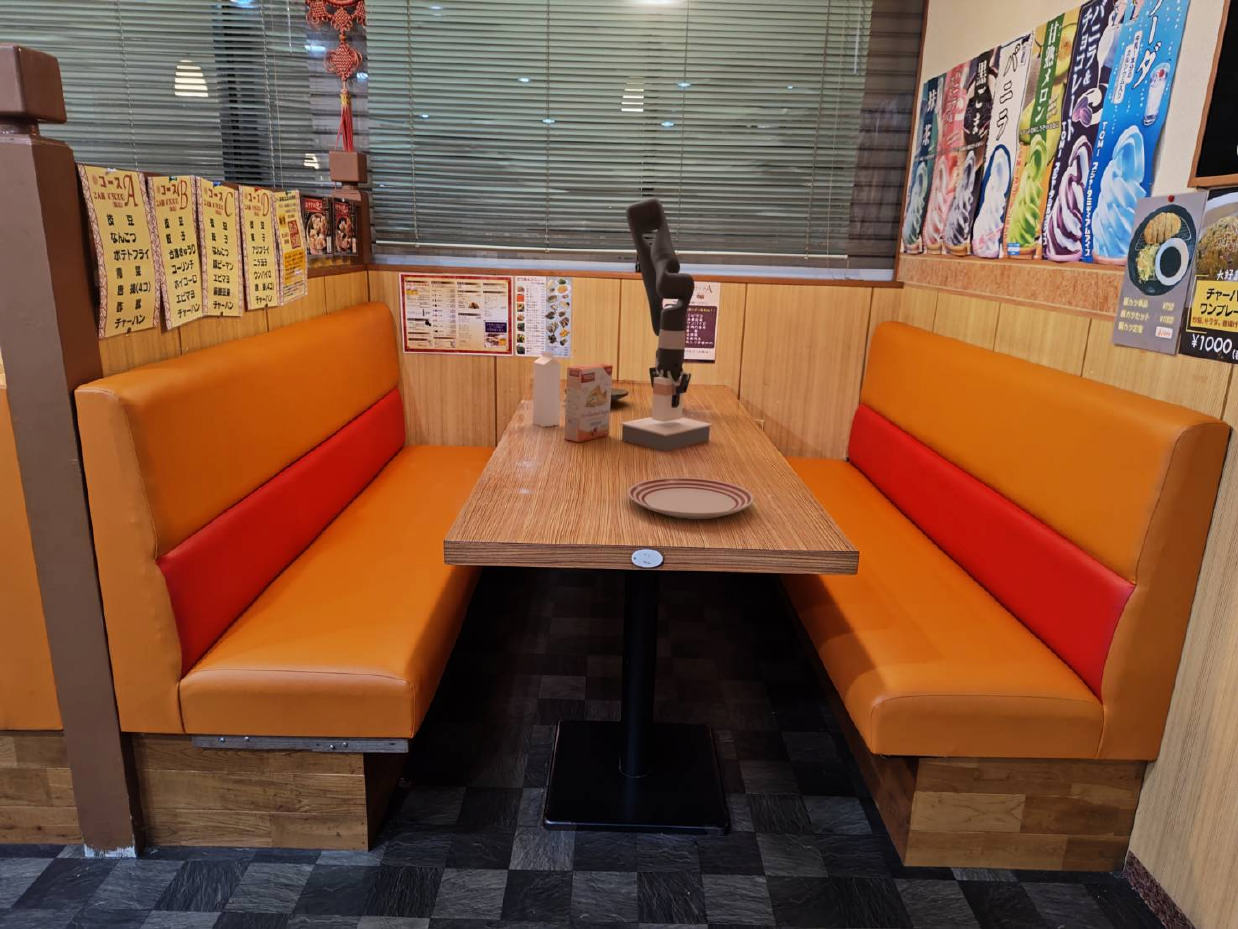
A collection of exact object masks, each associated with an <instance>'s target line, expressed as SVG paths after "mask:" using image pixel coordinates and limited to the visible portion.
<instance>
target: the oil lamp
mask: <svg viewBox="0 0 1238 929" xmlns="http://www.w3.org/2000/svg"><path fill="white" fill-rule="evenodd" d="M629 393H630V392H629V390H626V389H622V388H613V387H611V403H613V402H617V401H618V400H621V399H622V398H624V397H628V395H629ZM564 394H565V395H566V388H565V389H564Z"/></svg>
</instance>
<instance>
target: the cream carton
mask: <svg viewBox="0 0 1238 929" xmlns="http://www.w3.org/2000/svg"><path fill="white" fill-rule="evenodd" d="M680 381H681V377H680ZM671 383H672V379H669V378H665V377H655V378H654V383H653V388H652V408H651V409H652V410H651V417H652V419H653V420H657V421H661V422H667V421H672V420H677V419H682V417H683V403H684V393H682V394H680V400H679V401H680V402H679V406H678V407H676V408H672V395H673V392H672V384H671ZM674 383H678V381H676V382H674ZM676 390H677V386H676Z"/></svg>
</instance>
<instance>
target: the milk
mask: <svg viewBox="0 0 1238 929" xmlns="http://www.w3.org/2000/svg"><path fill="white" fill-rule="evenodd" d="M561 366H562V364H561V362H559V361H557V360H556V359H554V353H553V352H548V351H543V350H542V351H541V356H540V357H539V358H537V359H536V360H534V361H533V377H532V380H533V386H532V424H534V425H537V426H539V425H540V426H539V427H541V428H545V427H546V426H547V427H553V425H556V426H560V416H561V415H560V414H561V413H560V411H561V410H560V409H561V408H560V407H561V374H562V372H561V371H562V369H561Z"/></svg>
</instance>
